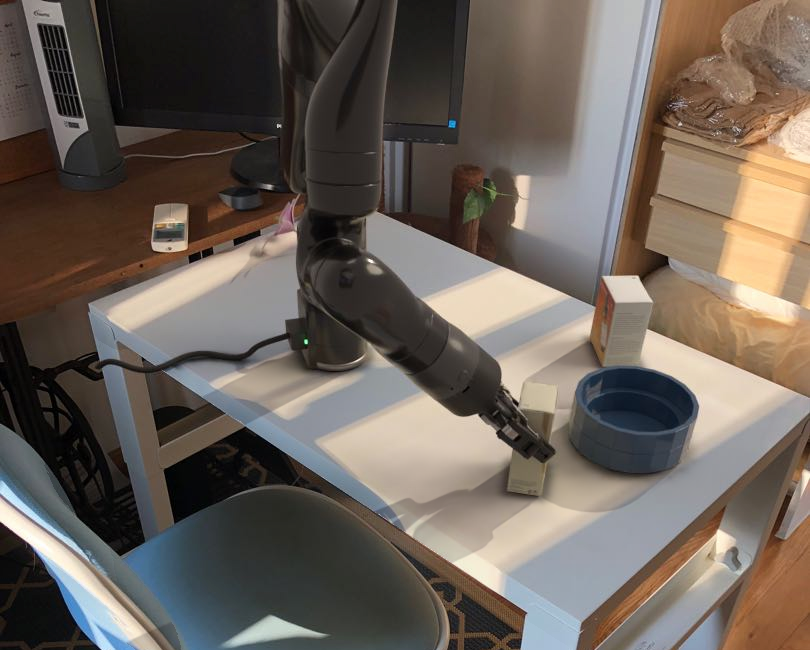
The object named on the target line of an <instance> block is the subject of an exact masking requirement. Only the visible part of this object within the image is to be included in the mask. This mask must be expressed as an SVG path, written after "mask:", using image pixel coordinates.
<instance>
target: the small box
mask: <svg viewBox="0 0 810 650" xmlns="http://www.w3.org/2000/svg"><path fill="white" fill-rule="evenodd" d="M653 305H654V301H653V300H652V298H651V297H650V295H649V293H648V292H647V290H646V288H645V287H644V284H643V283H642V281H641V279H640V276H639V275H602V276H601V277H600V283H599V287H598V293H597V297H596V303H595V308H594V312H593V317H592V322H591V323H592V324H591V329H590V334H589V341H590V342H591V344H592V346H593V349H594V351H595V353H596V356H597V358H598V361H599V363H600V366H601V368H605V367H611V366H618V365H621V366H638V367H639V363H640V359H641V355H642V351H643V347H644V343H645V339H646V335H647V330H648V327H649V323H650V318H651V314H652V311H653Z"/></svg>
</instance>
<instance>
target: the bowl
mask: <svg viewBox="0 0 810 650" xmlns="http://www.w3.org/2000/svg"><path fill="white" fill-rule="evenodd" d="M699 411H700V405H699V402H698V399H697V397H696V394H695V393H694V392H693V391H692V390H691V389H690V388H689V386H688V385H686V384H685V383H683V382H682V381H680V380H679V379H677V378H676V377H674V376H672V375H670V374H667V373H664V372H662V371H660V370H657V369H653V368H648V367H643V366H639V365H638V366H621V365H618V366H611V367H601V368H598V369H595V370H593V371H590V372H588V373H586V375H584V376H583V377H582V378H580V380H579V381H578V382H577V384H576V388H575V390H574V394H573V401H572V405H571V410H570V417H569V422H568V428H567V429H568V434H569V439H570V442H571V443H572V444H573V446H574V447H575V449H576V450H577V451H578V452H579V453H580V454H582V455H583V456H584V457H586V458H587V459H588V460H590V461H591V462H593V463H595V464H597V465H599V466H603V467H605V468H607V469H610V470H614V471H619V472H623V473H626V474H627V473H629V474H650V473H656V472H662V471H666V470H668V469H670V468H672V467H674V466H675V465H678V464H680V462H681V461H682V460H683V459H684V457H686V455H687V454H688V450H689V447H690V443H691V440H692V436H693V433H694V430H695V426H696V423H697V420H698V416H699Z"/></svg>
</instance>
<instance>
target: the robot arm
mask: <svg viewBox="0 0 810 650" xmlns="http://www.w3.org/2000/svg"><path fill="white" fill-rule="evenodd" d="M397 8H398V0H277V12H276V13H277V15H276V16H277V17H276V18H277V19H276V20H277V21H276V22H277V23H276V24H277V25H276V26H277V27H276V28H277V29H276V33H277V34H276V38H277V60H278V69H279V70H278V71H279V80H280V91H281V122H280V138H279V159H280V167H281V172H282V176H283V179H284V182H285V184H286V185H287V187H288V188H289V190H291V191H292V193H295V194H298V195H299V194H300V195H304V196H305V199H304V205H303V209H302V213H301V218H300V219H299V220H298V222H297V224H296V230H297V233H296V243H297V244H296V251H295V252H296V253H295V270H296V278H297V282H298V285H299V288H298V289H297V290H296V297H297V314H298V315H297V316H298V317H297V318H295V317H294V318H288V319H287V318H286V319H284V322H285V323H284V325H285V326H284V327H285V333H282V334H279V335H275V336H272V337H269V338H266V339H264V340H262V341H261V340H260V341H259V342H256V343H255V344H254V345H253V346H251V347H250V348H249V349H248V350H247V351H245V352H242V353H233V354H232V353H225V352H218V351H213V350H193V351H190V352H185V353H183V354H180V355H178V356H176V357H173V358H172V359H171V358H170V359H169V360H168V361H165V362H162V363H160V364H157V365H153V366H138V365H134V364H131V363H128V362H126V361H123V360H120V359H117V358H105V359H102V360H101V361H99V362H98V363H97V364H96V365H95V366H94V369H95V370H101V369H103V368H104V367H106V366H109V365H112V366H116V367H120V368H122V369H125V370H127V371H130V372H133V373H138V374H152V373H157V372H161V371H164V370H166V369H169V368H171V367H173V366H175V365H177V364H179V363H181V362H184V361H186V360H188V359H193V358H200V357H205V358H206V357H207V358H214V359H219V360H226V361H241V360H246V359H248V358H250V357H251V356H252V355H254V354H255V353H256V352H257V351H258V350H260V349H262V348H264V347H266V346H269V345H272V344H275V343H279V342H282V341H285V340H287V342H288V344H289V347H290V349H291V351H292V352H296V351H301V353H302V355H303V358H304V360H305V363H306V364H307V367H308V369H309V370H313V369H317V370H322V371H328V372H340V371H347V370H351V369H354V368H356V367H359V366H360V365H363V363H364V362H365V361H366V360H367V358H368V356H369V355H368V353H369V350H368V344H370V346H371V347H372V348H373V349H374V351H375V352H376V353H377V354H378V355H380V356H381V357H382V358H383V359H384V360H385V361H387V362H388V363H389V364H391V365H392V366H394V368H396V369H397V370H399V371H400V372H401V373H403V374H404V376H406V377H407V378H408V379H409V380H410V381H411V383H413V384H414V385H415V386H416V387H417V388H418V389H420V390H421V391H423V392H424V393H425V394H426V395H428V396H429V397H431V399H432V400H434V401H436V402H437V403H438V404H439V405H441V406H442V407H443V408H445V409H446V410H447V411H449V412H450V413H451V414H453V415H454V416H457V417H461V418H467V417H471V416H475V415H477V417H478V418H479V419H481V421H483V422H484V423H485V425H488V426H490V427H492V429H493V430H494V431H495V435H496V437H497V439H499V440H501V441H502V442H504V443H505V444H506V445H507V446H509V447H510V448H512V449H514V450H515V451H517V452H518V453H519V454H521V455H522V456H523V457H524V458H526V459H527V460H528V459H529V458H530V457H531V456H533V457H534V458H536V459H537V460H538V461H539V462H541V463H546V462H547V463H548V461H549V460H551V458H553V456H554V455H556V453H557V450H556V449H555V447H554V446H553V445H552V444H551V443H550V444H549V443H548V442H547V441H545V440H544V439H543V438H542V437H540V436H539V434H538V433H537V432H535V431H534V430H533V429H532V428H531V427H530V426H529V425H528V418H527V416H526V415H525V414H524V413H523V412H522V411H521V410H520V409H519V408H518V406H519V401H518V400H517V399H516V398H515V397H513V396H512V394H511V391H510V390H509V389H508V388H507V386H506V385H505V384H504V383H503V381H502V377H503V376H502V375H503V373H502V368H501V365H500V363H499V362H498V361H497V360H496V359H495V358H494V357H493V356H492V355H491V354H490V353H488V352H487V351H486V350H485V349H484V348H483V347H481V346H480V345H479V344H478V343H477V342H476V341H475V340H473V339H472V338H471V337H469V336H468V335H467V334H466V333H465V332H464V331H462V329H461V328H459V327H457V326H456V325H454V324H453V323H451V322H449V321H448V320H446V319H445V318H444V317H442V316H441V315H440V314H439V313H438V312H437V311H436V310H434V309H433V308H432V306H431V307H430V305H429V304H428V303H426V302H425V301H423V300H422V299H421V298H419V297H418V296H417V295H415V294H414V293H413V291H412V290H411V289H410V288H409V287H408V286H407V284H406V283H405V282H404V281H403V280H402V279H401V278H400V276H398V275H397V274H396V272H395V271H394V270H393V269H391V267H389V265H387V263H384V262H383V261H382V260H381V259H380V258H378V257H377V256H376V255H374V254H373V253H371V252H370V251H368V249H367V218H369V217H371V216H373V215H374V214H375V213H376V212H377V211H378V209H379V208H380V204H381V198H382V187H383V185H382V184H383V181H382V180H383V154H384V153H383V148H384V147H383V146H384V114H385V103H386V91H387V83H388V77H389V76H388V74H389V70H390V69H389V68H390V63H391V62H390V60H391V55H392V47H393V42H394V41H393V40H394V32H395V26H396V25H395V24H396V18H397V17H396V16H397ZM517 416H518V417H519V418H520V419H519V421H517V420H516V419H517Z"/></svg>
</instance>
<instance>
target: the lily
mask: <svg viewBox="0 0 810 650" xmlns="http://www.w3.org/2000/svg"><path fill="white" fill-rule="evenodd" d="M300 196H301V194H298V195H297V196H296V198H293V199H292V201H291V202H290V201H288V202H287V204H286V205H285V207H284V208H283V210H282V211H281V213H280V214H278V215H277V214H275V215H274V216H273V217H272V218H271V219H272V220H276V221H278V225H277V227H276V228H275V230H274V232H273V233H272V234H271V235H270V236H269V237H267V239H266V240H265V242H264V244H263V245H262V247H261V249H260V251H259V253H258V255H261V253H262V252H263V249H264V248H265V246H266V245H267V243H268V242H269V241H270V240H271V239H272V238H273V237H274V239H277V238H278V236H281V235H283V234H288V233H293V232H295V234H297V228H296V226H295V220H294V211H295V210H294V209H295V205H296V204H297V201H298V199H299V197H300Z"/></svg>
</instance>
